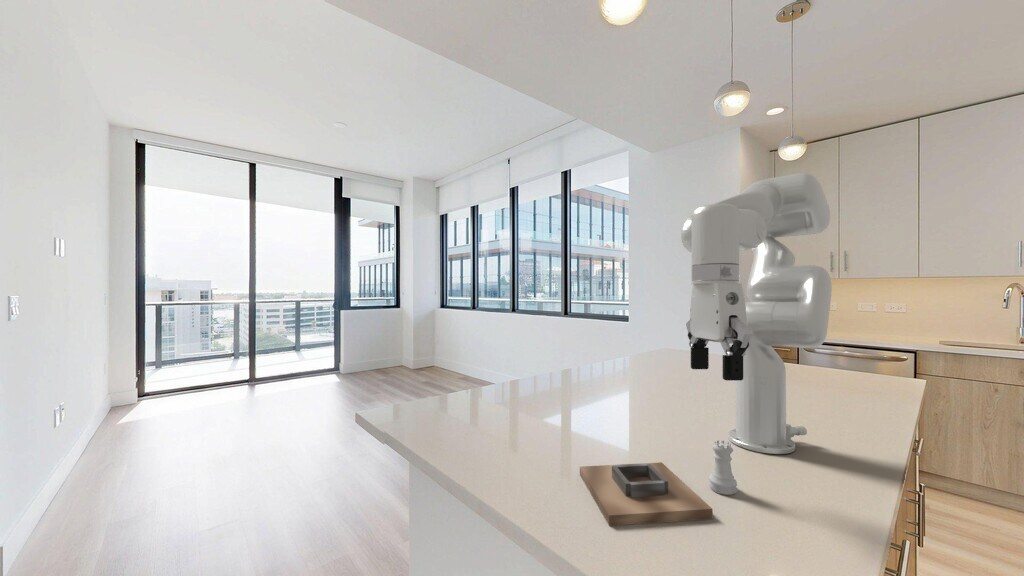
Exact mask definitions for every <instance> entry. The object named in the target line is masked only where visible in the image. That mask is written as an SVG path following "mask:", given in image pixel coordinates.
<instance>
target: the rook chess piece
mask: <svg viewBox="0 0 1024 576" xmlns="http://www.w3.org/2000/svg"><path fill="white" fill-rule="evenodd" d="M731 445H732V444H731V443H730V441H726V442H725V440H721V439H720V440H718V439H716V440H714V444H713V445H712V446H711V449H712V450H713V451H714V454H713V458H714V465H713V471H712V472H711V474H710V475H709V477H708V486H709V488H710V489H711V490H712V491H713V492H715V493H717V494H719V495H724V496H734V495H735V494H736V493H737V492H738V483H737V480H736V479H735V476H734V474H733V472H732V466H731V464H732V463H731V461H732V459H733V458H732V457H731V455H732V453H733V452H734V449H733V447H732V446H731Z"/></svg>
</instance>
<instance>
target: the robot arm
mask: <svg viewBox="0 0 1024 576" xmlns="http://www.w3.org/2000/svg"><path fill="white" fill-rule="evenodd" d="M830 222H831V211H830V206H829V203H828V200H827V198H826V195H825V192H824V189H823V187H822V185H821V183H820V181H819V180H818V178H817V177H815V176H814V175H812V173H808V172H798V173H794V174H787V175H781V176H775V177H770V178H765V179H761V180H757V181H755V182H752V184H750V185H749V186H747V187H746V188H745V189H744V190H743V191H742V192H740V193H739V194H737V195H734V196H733V195H732V196H731V197H728V198H726V199H723V200H721V201H718V202H716V203H711V204H706V205H701V206H699V207H697V208H695V209H694V211H693V212H692V214H690V216H689V217H687V218H686V220H685V221H684V223H683V224H682V228H681V233H680V234H681V235H680V239H681V240H680V241H681V243H682V245H683V247H684V249H685V250H686V251H688V252H689V253H691V285H692V289H691V295H690V296H691V297H690V298H691V299H690V312H689V320H688V321H687V322H685V323H686V330H687V338H688V339H689V343H688V345H689V347H690V368H691V370H708V369H709V366H710V364H709V359H710V357H709V356H710V355H709V352H710V351H709V347H707V345H708V343H709V342H713V343H714V342H715V343H720V345H721V347H722V349H723V352H724V354H722V380H724V381H726V382H727V381H735V428H734V429H732V430H730V431H729V432H728V434H727V435H728V439H729V442H730V441H731V443H733V444H734V445H736V446H738V447H739V448H743V449H746V450H749V451H753V452H758V453H761V454H762V453H764V454H768V455H787V454H791V453H793V452H795V450H796V442H794V441H793V440H792V438H793V437H794V436H799V437H800V436H806V435H807V433H808V430H807V428H806V427H805V426H802V425H800V426H798V425H797V426H792V425H791V424H790V423H787V370H786V365H785V362H784V361H783V359H782V358H781V356H780V355H779V353H777V352H776V351H777V350H775V349H774V348H773V347H779V346H780V347H788V348H790V347H791V348H802V349H815V348H818V347H821V345H823V344H824V342H825V341H826V338H827V334H828V329H829V321H830V320H829V319H830V309H831V301H832V279H831V276H830V273H829V272H828V271H827V270H826V269H825V268H824V267H822V266H819V265H815V264H814V265H812V264H807V265H806V264H803V265H800V264H799V265H797V264H796V265H795V262H796V257H795V255H794V253H793V252H792V251H791V249H790V248H788V246H786V245H785V244H784V243H782V242H780V241H779V240H777V239H776V238H787V237H797V236H808V235H809V236H811V235H817V234H820V233H822V232H824V231H826V229H828V227H829V225H830ZM741 251H751V252H752V255H753V256H752V258H753V260H752V265H751V268H750V272H749V275H748V279H747V283H746V297H747V298H748V301H746V299H745V294H744V289H743V285H742V283H741V278H740V277H741V275H740V274H741V271H740V269H741V266H740V263H741V261H740V259H741V258H740V257H741V255H740V252H741ZM730 344H731V345H730Z"/></svg>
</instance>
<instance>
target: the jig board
mask: <svg viewBox="0 0 1024 576" xmlns="http://www.w3.org/2000/svg"><path fill="white" fill-rule="evenodd" d="M579 476H580V478H581V480H582V481H583V483H584V484H585V486H586V489H587V490H588V492H589V493H590V495H591V496H592V499H593V500H594V502H595V503H596V505H597V507H598V509H599V510H600V512H601V514H602V515H603V518H604V519H605V521H606V523H607V525H608V526H609V527H610V526H611V527H612V526H625V525H626V526H627V525H641V524H655V523H670V522H682V521H683V522H684V521H685V522H686V521H699V520H700V521H701V520H713V518H714V517H713V516H714V515H713V508H712V506H710V505H709V504H708V503H707V502H706V501H705V500H704V499H702V497H700V496H699V495H698V494H697V493H696V492H695V491H694V490H693V489H691V487H689V486H688V485H687V484H686V483H685V482H684V481H683V480H681V479H680V477H679V476H677V475H676V474H675V473H674V472H673V471H672V470H671V469H670V468H668V467H667V465H665V464H664V463H663V462H661V461H660V462H644V463H641V462H640V463H623V464H620V463H619V464H605V465H602V464H601V465H586V466H585V465H584V466H579Z"/></svg>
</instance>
